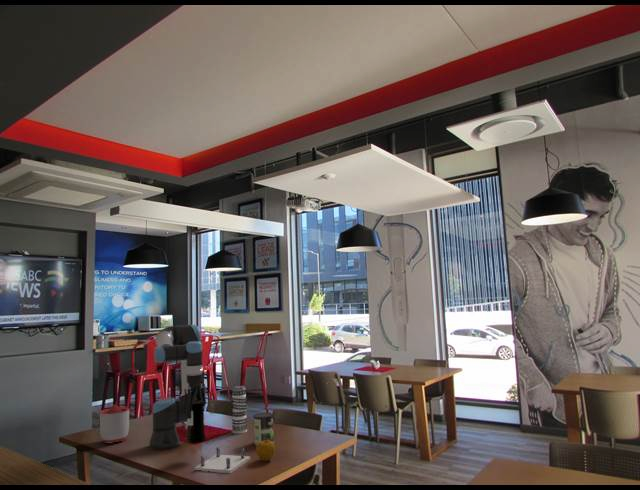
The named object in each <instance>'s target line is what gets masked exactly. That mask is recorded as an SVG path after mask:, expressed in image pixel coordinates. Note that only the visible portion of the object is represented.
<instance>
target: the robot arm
mask: <svg viewBox="0 0 640 490" xmlns="http://www.w3.org/2000/svg"><path fill="white" fill-rule="evenodd" d="M201 338H202V337H201V330H200V328H199V326H198V325H197V324H182V325H170V326H169V325H168V326H167V327H164V328H162V329H161V330H160V331H158V333H156V335H155V339H154V340H155V344H156V346H155V347H154V353H153V355H154V356H153V357H154V359H153V360H154V362H155V363H167V362H177V361H178V362H180V371H181V372H180V373H181V374H180V375H181V394H180V395H179V397H178V400H177V398H175V397H168V398H164V399H160V400H158V401H156V402H154V403H153V405H152V412H151V413H152V433H151V435H150V440H149V444H148V446H149V447H150V448H149V449H151V448H152V449H151V450H167V449H171V448H175V447H176V446H178V445H179V444H180V437H179V434H178V431H177V427H176V426H177V424H180V423H186V424H187V425H191V426H192V425H193V411H192V407H193V406H192V404H193V402H194V400H203V401H204V404H203V405H204V406H203V409H205V406H206V404H207V397H206V389H205V387H206V384H205V383H202V382H204V377H203V374H202V373H203V369H204V368H203V342H202V339H201ZM187 425H186V426H187Z"/></svg>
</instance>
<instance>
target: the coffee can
mask: <svg viewBox="0 0 640 490" xmlns="http://www.w3.org/2000/svg"><path fill="white" fill-rule="evenodd" d="M252 418H253V436H254V437H253V441H254V442H253V443H254V445H255V446H257V444H258V443H259V442H261V441H265V440H270V441H272V442H273V443H274V442H275V441H274V439H275V438H274V436H275V435H274V414H273V413H272V412H258V413H255V414H254V415H252ZM274 444H275V443H274Z"/></svg>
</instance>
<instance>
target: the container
mask: <svg viewBox="0 0 640 490" xmlns="http://www.w3.org/2000/svg"><path fill="white" fill-rule="evenodd" d="M203 404H204V401H203V400H194V402H193V404H192V406H193V407H192V411H193V425H192V426H191V425H186V427H187V429H186V439H185V442H186V443H187V444H199V443H202V442H204V441H206V436H205V435H206V433H205V421H204V419H205V417H204V416H205V415H204V414H205V413H204V412H205V410H204V409H205V408H204V409H203V406H204V405H203ZM204 407H205V406H204Z"/></svg>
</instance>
